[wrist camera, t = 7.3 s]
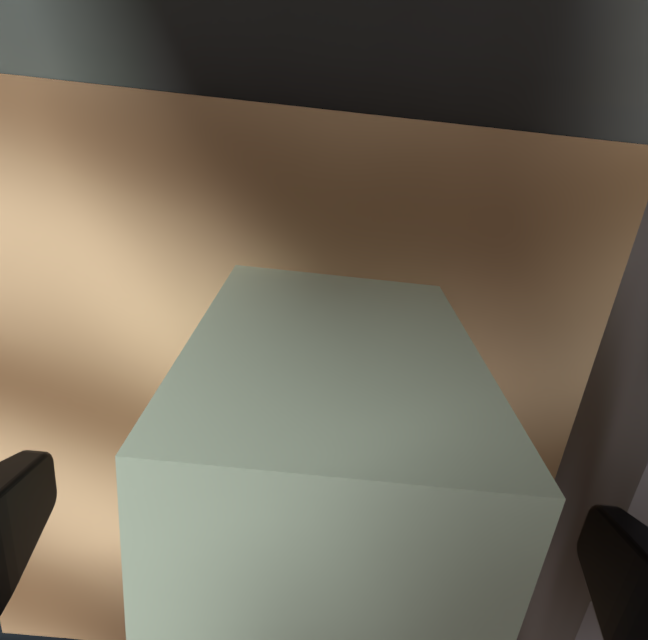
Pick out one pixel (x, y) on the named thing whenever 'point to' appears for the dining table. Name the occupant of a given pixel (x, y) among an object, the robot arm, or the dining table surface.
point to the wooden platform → (313, 257)
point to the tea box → (330, 474)
